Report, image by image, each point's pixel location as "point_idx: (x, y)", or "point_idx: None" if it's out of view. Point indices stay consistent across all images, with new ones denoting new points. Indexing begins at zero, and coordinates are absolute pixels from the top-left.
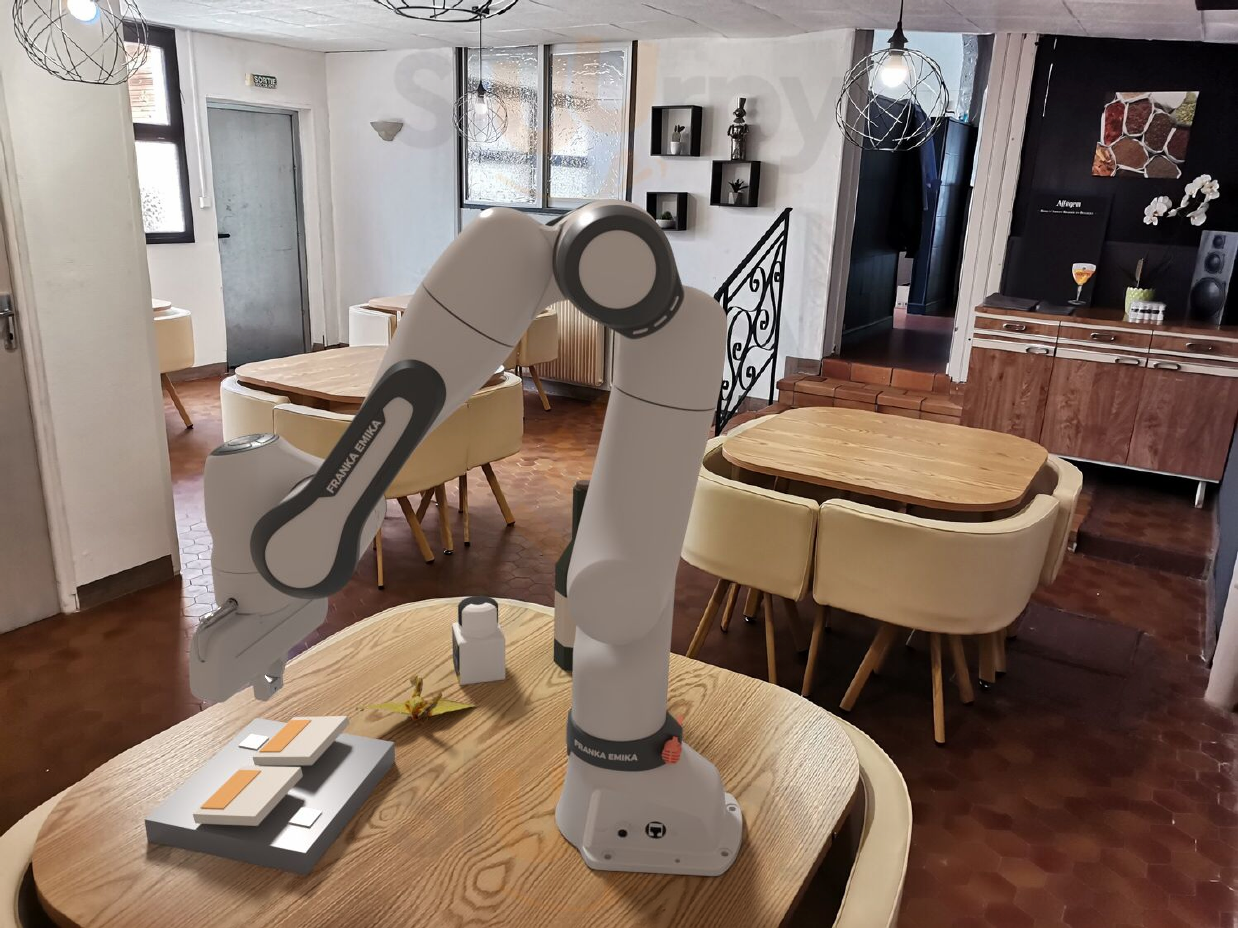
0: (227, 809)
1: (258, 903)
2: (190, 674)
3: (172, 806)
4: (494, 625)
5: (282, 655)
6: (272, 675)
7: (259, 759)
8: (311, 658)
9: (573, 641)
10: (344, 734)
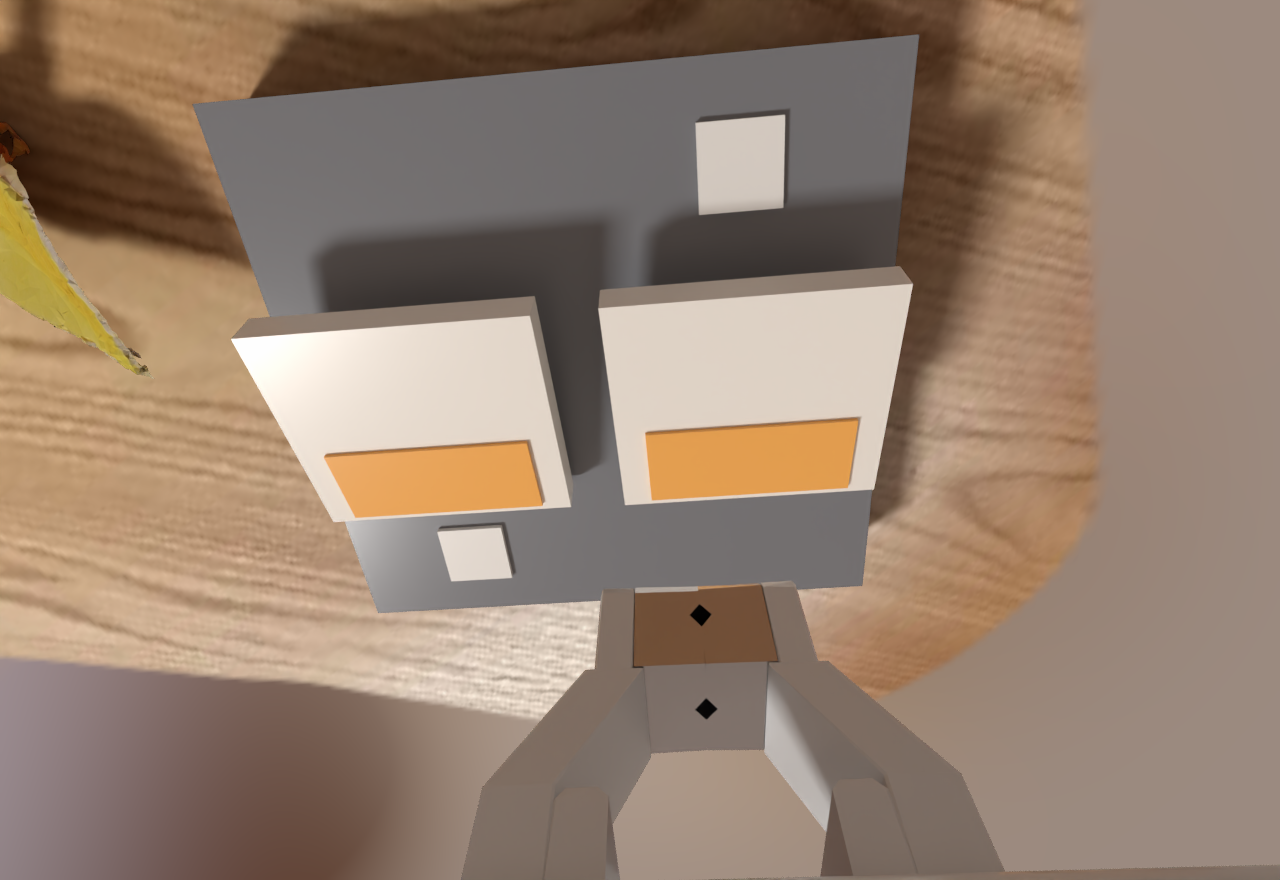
0: (860, 405)
1: (1023, 120)
2: None
3: (799, 561)
4: None
5: (568, 857)
6: (644, 718)
7: (568, 482)
8: (38, 656)
9: None
10: None
